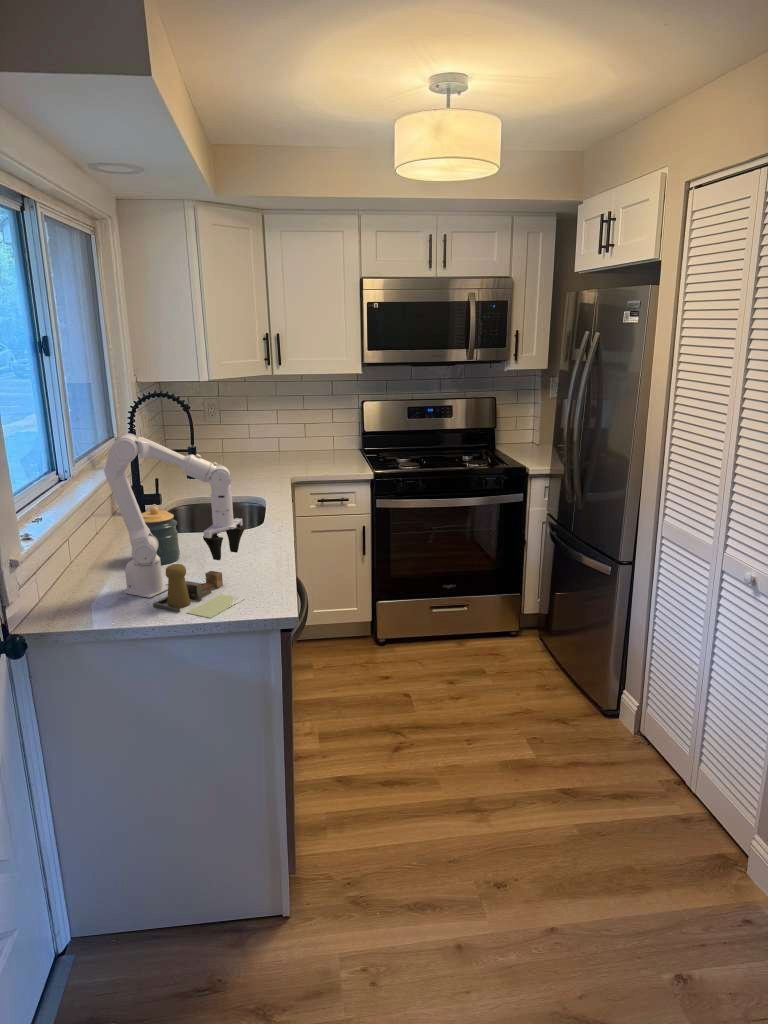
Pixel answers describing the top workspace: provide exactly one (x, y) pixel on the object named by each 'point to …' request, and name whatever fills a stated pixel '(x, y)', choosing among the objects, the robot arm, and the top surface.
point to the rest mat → (213, 606)
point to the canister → (163, 533)
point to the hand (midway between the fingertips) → (225, 555)
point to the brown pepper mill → (177, 586)
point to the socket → (192, 589)
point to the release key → (212, 580)
